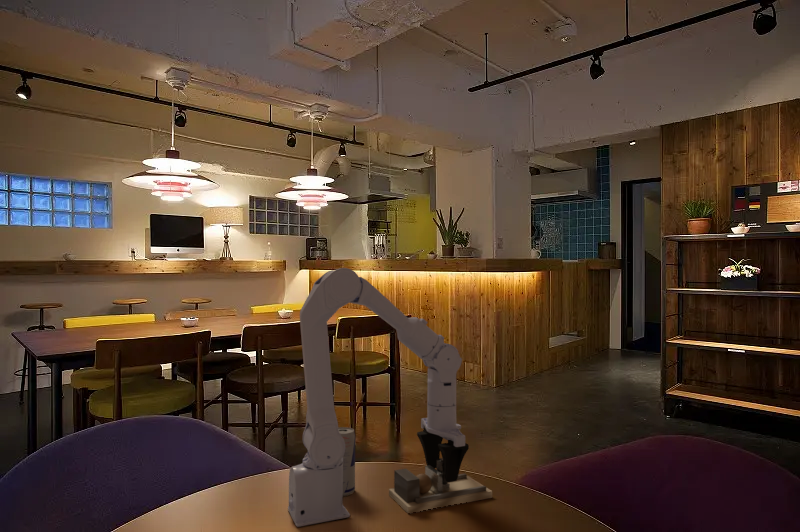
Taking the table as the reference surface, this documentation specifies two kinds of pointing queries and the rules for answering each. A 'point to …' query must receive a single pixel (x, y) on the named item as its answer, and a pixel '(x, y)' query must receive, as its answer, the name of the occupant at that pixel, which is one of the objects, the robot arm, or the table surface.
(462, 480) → the press base
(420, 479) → the walnut
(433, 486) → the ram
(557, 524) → the table surface
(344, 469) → the energy drink
